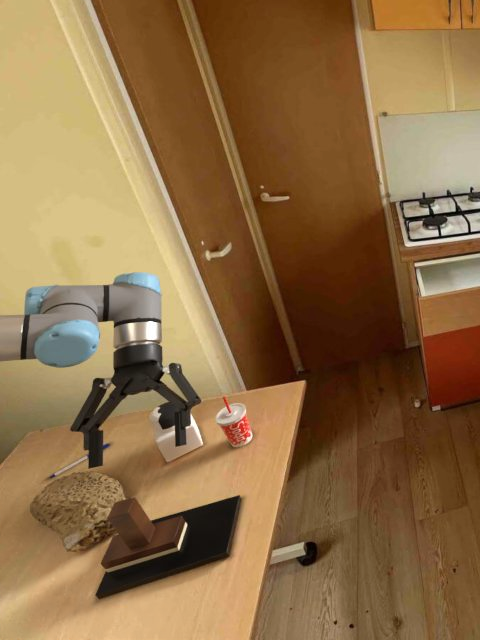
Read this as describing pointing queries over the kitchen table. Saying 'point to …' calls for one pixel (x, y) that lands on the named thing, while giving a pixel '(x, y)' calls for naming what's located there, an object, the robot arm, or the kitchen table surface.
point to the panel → (182, 547)
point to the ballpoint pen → (75, 463)
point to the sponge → (78, 508)
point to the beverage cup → (234, 424)
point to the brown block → (139, 536)
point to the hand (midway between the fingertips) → (139, 456)
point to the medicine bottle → (172, 432)
